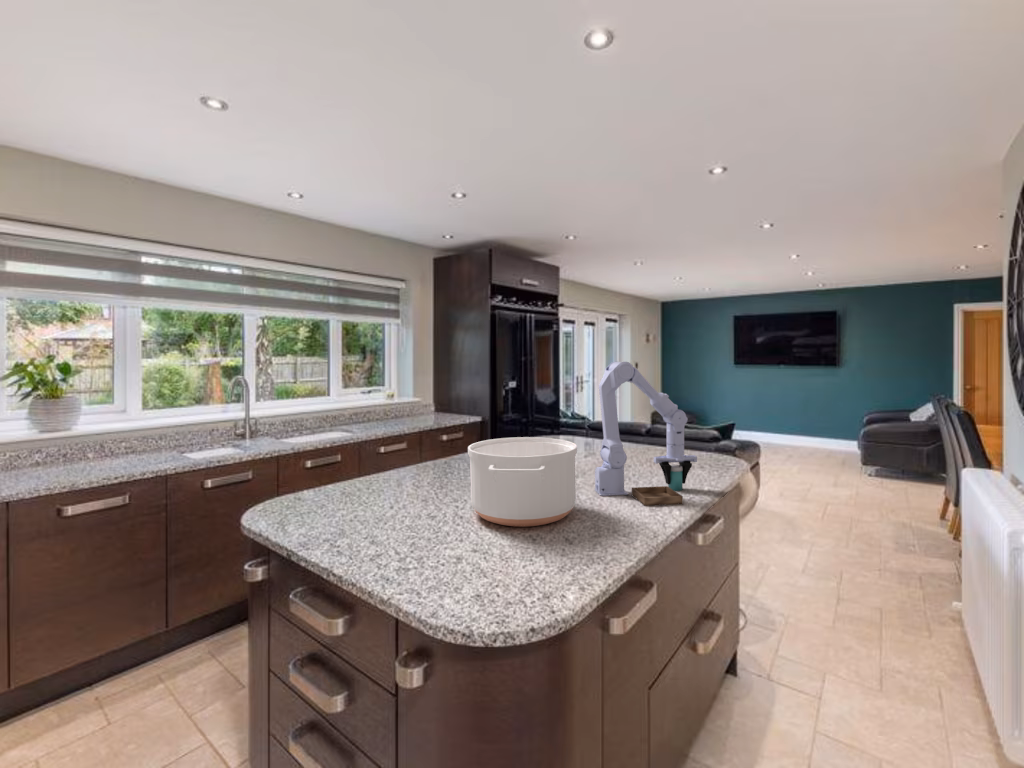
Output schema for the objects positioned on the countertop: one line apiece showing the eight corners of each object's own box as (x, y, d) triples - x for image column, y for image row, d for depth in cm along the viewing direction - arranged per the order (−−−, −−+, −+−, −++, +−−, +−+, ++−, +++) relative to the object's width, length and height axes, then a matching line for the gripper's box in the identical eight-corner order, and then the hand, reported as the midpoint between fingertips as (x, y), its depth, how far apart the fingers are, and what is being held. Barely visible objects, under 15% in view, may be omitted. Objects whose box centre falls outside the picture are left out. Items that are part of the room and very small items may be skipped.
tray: (644, 505, 149) (644, 497, 149) (631, 495, 161) (631, 487, 161) (682, 504, 150) (682, 496, 150) (667, 493, 162) (667, 486, 162)
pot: (580, 541, 121) (579, 460, 120) (454, 538, 125) (452, 460, 124) (576, 494, 162) (575, 434, 161) (481, 493, 166) (480, 434, 165)
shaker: (671, 491, 164) (671, 467, 164) (665, 487, 169) (665, 464, 169) (685, 490, 165) (685, 467, 164) (679, 487, 170) (679, 464, 169)
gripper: (659, 446, 162) (659, 487, 162) (701, 445, 163) (701, 485, 164) (651, 443, 169) (651, 481, 169) (691, 441, 170) (691, 480, 171)
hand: (675, 483), depth 167 cm, fingers closed on shaker, 5 cm apart
